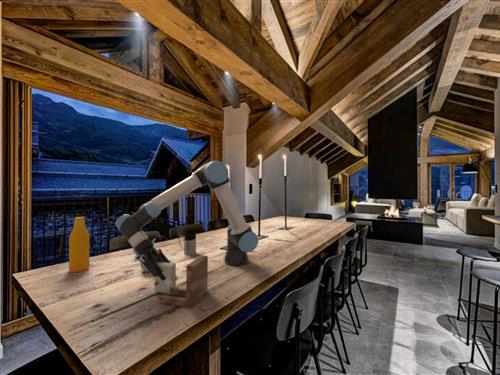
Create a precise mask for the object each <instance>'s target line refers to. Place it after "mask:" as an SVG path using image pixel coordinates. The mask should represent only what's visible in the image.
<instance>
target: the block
mask: <svg viewBox="0 0 500 375" xmlns="http://www.w3.org/2000/svg"><path fill="white" fill-rule="evenodd" d="M157 264H158V266H159V267H160V269H161V271H162V272H163V271H164V272H165V273H166V275H167V276H168V277H169V278H170V280H171V281H172V282H173V283H172V284H171V285H170V286H169V287H167V285H166V284H165V283H164V282H163V281H162V280H161V279H160V277H159V276H158V277H155V276H154V283H153V285H154V292H156V293H164V294H169V295H170V288H177V287H176V286H177V281H176V276H177V275H176V274H177V272H176V271H177V268H176V267H177V264H176V263H175V262H170V263H166V262H159V263H157Z"/></svg>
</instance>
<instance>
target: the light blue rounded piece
mask: <svg viewBox="0 0 500 375" xmlns="http://www.w3.org/2000/svg"><path fill="white" fill-rule="evenodd" d="M151 241H152V243H153V247H154V248H155V241H156V238H153V240H151ZM132 251H133V253H134V255H135V256H136V257H137V258H140V257H142V256H141V255H138V253H137V252H136V251H135V248H133V247H132Z"/></svg>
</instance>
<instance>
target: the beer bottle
mask: <svg viewBox="0 0 500 375" xmlns="http://www.w3.org/2000/svg"><path fill="white" fill-rule="evenodd" d="M85 222H86V221H85V216H79V217H78V216H76V217H74V223H73V227H72V228H73V229H72V230H71V232H70V234H69V238H68V243H69V244H68V254H69V255H68V258H69V259H68V261H69V262H68V270H69V272H70V273H80V272H85V271H87V270H88V269H89V268H90V234H89V232H88V230H87V228H86V223H85Z"/></svg>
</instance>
